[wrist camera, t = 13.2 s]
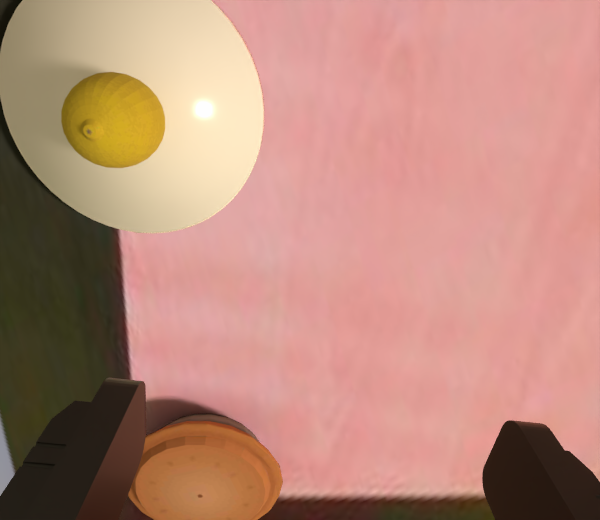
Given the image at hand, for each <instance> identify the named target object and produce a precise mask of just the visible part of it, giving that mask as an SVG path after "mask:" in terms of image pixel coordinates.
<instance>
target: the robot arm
mask: <svg viewBox="0 0 600 520" xmlns="http://www.w3.org/2000/svg"><path fill="white" fill-rule="evenodd" d="M145 437H146V395H145V383H144V382H143V381H135V380H125V379H115V378H107V379H106V380H105V381H104V382H103V383H102V385H101V387H100V389H99V390H98V392H97V394H96V395H95V397H94V399H93V401H92V402H82V401H74V402H73V403H71V404H70V405H69V406H68V407H66V408H65V409H64V410H63V411H61V412H60V413H59V414H57V415H56V416H55V417H54V418H52V419H51V421H50V422H49V424H48V425H47V427H46V428H45V430H44V431H43V433H42V434H41V436H40V437H39V439H38V440H37V442H36V446H35V447H33V448H32V449H31V451H30V452H29V454H28V455H27V457H26V458H25V460H24V461H23V465H22V467H19V469H18V470H17V472H16V473H15V475H14V476H13V478H12V479H11V481H10V482H9V484H8V485H7V487H6V488H5V490H4V491H3V493H2V494H1V496H0V520H119V517H120V515H121V512H122V509H123V507H124V504H125V501H126V499H127V496H128V493H129V491H130V488H131V486H132V483H133V480H134V478H135V475H136V472H137V470H138V467H139V464H140V461H141V458H142V454H143V450H144V444H145ZM482 479H483V489H484V493H485V496H486V499H487V501H488V504H489V506H490V508H491V510H492V513H493V515H494V517H495V520H600V482H599V481H598V479H597V478H596V476H595V475H594V474H593V472H592V471H591V470H589V469H588V468H587V467H586V466H585V465H584V464H583V463H582V462H581V461H580V460H578V459H577V458H576V457H575V456H574V455H573V454H572V453H571V452H570V451H565V450H564V449H563V448H562V446H561V445H560V443H559V442H558V440H557V439H556V437H555V436H554V434H553V433H552V431H551V430H550V429H549V428H548V427H547V426H546V425H544V424H540V423H530V422H521V421H507V422H505V423H504V425H503V426H502V428H501V431H500V433H499V435H498V437H497V439H496V442H495V444H494V446H493V448H492V450H491V453H490V455H489V457H488V459H487V461H486V464H485V466H484V469H483V478H482Z"/></svg>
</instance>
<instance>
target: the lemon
mask: <svg viewBox="0 0 600 520" xmlns="http://www.w3.org/2000/svg"><path fill="white" fill-rule="evenodd" d="M61 123H62V127H63V131H64V134H65V136H66V138H67V140H68V142H69V143H70V145H71V146H72V147H73V148H74V150H75V151H76V152H77V153H78V154H80V155H81V156H82V157H83V158H85V159H86V160H88V161H90V162H92V163H94V164H96V165H100V166H103V167H108V168H125V167H129V166H134V165H137V164H139V163H141V162H143V161H144V160H146V159H148V158H149V157H150V156H151V155H152V154H153V153H154V152H155V151H156V150H157V149H158V147H159V145H160V143H161V142H162V140H163V136H164V132H165V115H164V111H163V107H162V105H161V103H160V101H159V99H158V98H157V96H156V95H155V94H154V93H153V91H152V90H151V89H150V88H149V87H148V86H147V85H145V84H144V83H143V82H141V81H140V80H138V79H136V78H134V77H131V76H129V75H127V74H122V73H116V72H105V73H97V74H94V75H92V76H89V77H87V78H84V79H83V80H81V81H80V82H79V83H78V84H77V85H75V86H74V87H73V88H72V89H71V91H70V92H69V94H68V95H67V97H66V98H65V100H64V103H63V107H62V111H61Z"/></svg>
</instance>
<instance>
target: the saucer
mask: <svg viewBox="0 0 600 520" xmlns="http://www.w3.org/2000/svg"><path fill="white" fill-rule="evenodd" d="M105 72H116V73H122V74H127V75H129V76H131V77H134V78H136V79H138V80H140V81H141V82H143V83H144V84H145V85H147V86H148V87H149V88H150V89H151V90H152V91H153V93H154V94H155V95H156V96H157V98H158V99H159V101H160V103H161V105H162V107H163V111H164V115H165V132H164V136H163V140H162V142H161V143H160V145H159V147H158V149H157V150H156V151H155V152H154V153H153V154H152V155H151V156H150V157H149V158H148V159H146V160H144V161H143V162H141V163H139V164H137V165H134V166H129V167H125V168H108V167H103V166H100V165H96V164H94V163H92V162H90V161H88V160H86V159H85V158H83V157H82V156H81V155H80V154H78V153H77V152H76V151H75V150H74V148H73V147H72V146H71V145H70V143H69V142H68V140H67V138H66V136H65V134H64V131H63V127H62V123H61V111H62V107H63V103H64V100H65V98H66V97H67V95H68V94H69V92H70V91H71V89H72V88H73V87H74V86H75V85H77V84H78V83H79V82H80V81H81V80H83V79H84V78H87V77H89V76H92V75H94V74H97V73H105ZM0 99H1V103H2V108H3V112H4V116H5V119H6V122H7V125H8V128H9V130H10V133H11V135H12V137H13V139H14V141H15V143H16V146H17V148H18V149H19V151H20V153H21V154H22V156H23V158H24V159H25V161H26V162H27V164H28V165H29V167H30V168H31V169H32V170H33V172H34V173H35V174H36V176H37V177H38V178H39V179H40V180H41V181H42V182H43V183H44V184H45V185H46V187H47V188H48V189H49V190H50V191H51V192H53V193H54V194H55V195H56V196H57V197H58V198H60V199H61V200H62V201H63V202H64V203H66V204H67V205H69V206H70V207H72V208H73V209H75V210H76V211H78V212H79V213H81V214H83V215H85V216H87V217H89V218H91V219H92V220H95V221H97V222H100V223H102V224H105V225H107V226H110V227H114V228H117V229H121V230H125V231H131V232H138V233H164V232H172V231H177V230H182V229H185V228H188V227H191V226H194V225H196V224H199V223H201V222H203V221H204V220H206V219H208V218H210V217H212V216H213V215H215V214H216V213H217V212H219V211H220V210H222V209H223V208H224V207H225V206H226V205H227V204H228V203H229V202H230V201H231V200H233V198H234V197H235V196H236V195H237V193H238V192H239V191H240V190H241V189H242V187H243V185H244V184H245V182H246V181H247V179H248V177H249V176H250V174H251V171H252V169H253V167H254V164H255V162H256V160H257V157H258V153H259V150H260V146H261V143H262V136H263V129H264V101H263V92H262V87H261V83H260V79H259V75H258V72H257V69H256V66H255V63H254V61H253V58H252V55H251V54H250V52H249V50H248V48H247V46H246V44H245V42H244V40H243V38H242V37H241V35H240V34H239V32H238V31H237V29H236V28H235V26H234V25H233V23H232V22H231V21H230V20H229V18H228V17H227V16H226V15H225V14H224V12H223V11H222V10H221V9H220V8H219V7H218V6H217V5H216V4H215V3H214V2H213V1H212V0H22V1H21V3H20V4H19V6H18V7H17V8H16V10H15V12H14V14H13V16H12V18H11V20H10V22H9V23H8V26H7V29H6V32H5V35H4V38H3V41H2V45H1V51H0Z"/></svg>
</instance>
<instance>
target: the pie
mask: <svg viewBox="0 0 600 520" xmlns="http://www.w3.org/2000/svg"><path fill="white" fill-rule="evenodd" d="M282 483H283V480H282V476H281V471H280V466H279V464H278V463H277V461H276V460H275V459H274V457H273V456H272V454H271V453H270V452H269V450H268V449H266V448H265V447H264V446H263V445H262V444H261V443H260V442H259V441H258V439H257V438H256V437H255V435H254V434H253V433H252V432H251V431H250V430H248V429H247V428H246V427H245V426H244V425H242V424H241V423H238V422H236V421H234V420H232V419H230V418H228V417H223V416H218V415H214V414H195V415H190V416H186V417H182V418H179V419H177V420H175V421H173V422H172V423H170V424H168V425H166V426H165V427H163V428H161V429H160V430H158V431H156V432H154V433H151V434H149V435H147V436H146V437H145V444H144V450H143V454H142V458H141V461H140V464H139V467H138V470H137V472H136V475H135V478H134V480H133V483H132V486H131V488H130V491H129V493H128V495H129V498H130V499H131V500H132V501H133V503H134V504H135V505H136V506H137V507H138V508H139V509H140V510H141V511H142V512H143V513H144V514H146V515H148V516H149V517H151V518H153V519H154V520H258V519H259V518H260V517H262V516H263V515H264V514H266V513H267V512H268V511H269V510H271V508H272V506H273V505H274V503H275V501H276V500H277V498H278V497H279V494H280V490H281V486H282Z"/></svg>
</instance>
